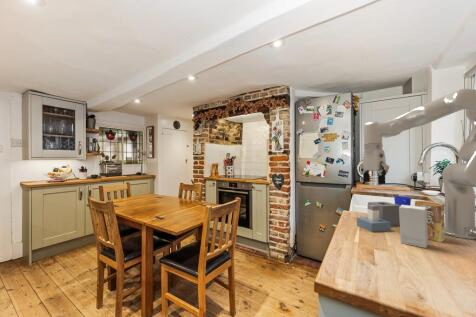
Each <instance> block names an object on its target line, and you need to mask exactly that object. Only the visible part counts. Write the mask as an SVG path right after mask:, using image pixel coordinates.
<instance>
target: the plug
mask: <svg viewBox="0 0 476 317" xmlns="http://www.w3.org/2000/svg"><path fill="white" fill-rule="evenodd" d="M367 217H368V220H370V221H379V206H377V205H368V204H367Z"/></svg>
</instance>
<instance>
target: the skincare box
mask: <svg viewBox="0 0 476 317" xmlns="http://www.w3.org/2000/svg"><path fill="white" fill-rule="evenodd" d="M399 216H400V225H399V230H400V231H399V236H400V244H404V245H409V246H415V247H419V248H425V249H426V248H428V245H429V239H428V229H427V210H426V207H420V206H415V205H410V206H409V205H401V206H400V207H399Z"/></svg>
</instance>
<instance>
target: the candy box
mask: <svg viewBox="0 0 476 317" xmlns="http://www.w3.org/2000/svg"><path fill="white" fill-rule="evenodd" d="M414 206H420V207H426V210H427V229H428V240H431V241H435V242H438V243H443V242H444V241H445V239H446V238H445V235H446V234H444V227H445V203H442V202H441V203H440V202H435V201H434V202H433V201H432V202H431V201H425V200H419V199H418V200H416V201H414Z"/></svg>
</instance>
